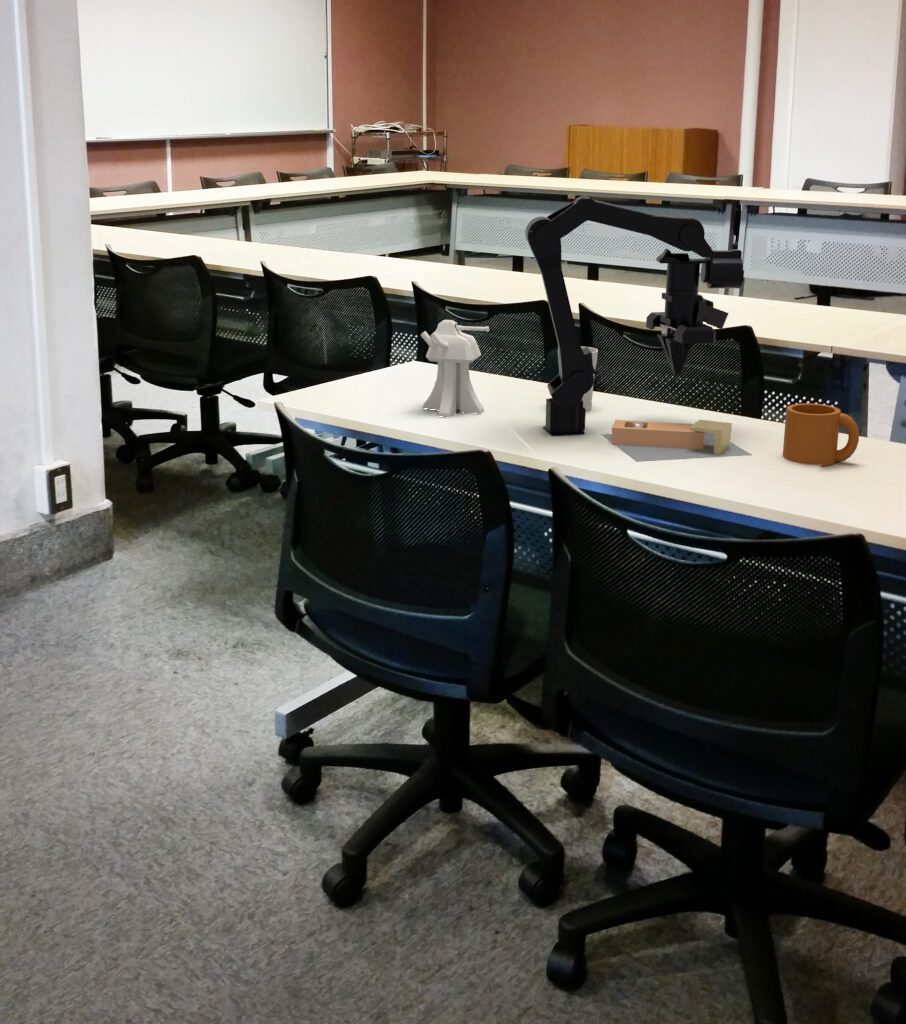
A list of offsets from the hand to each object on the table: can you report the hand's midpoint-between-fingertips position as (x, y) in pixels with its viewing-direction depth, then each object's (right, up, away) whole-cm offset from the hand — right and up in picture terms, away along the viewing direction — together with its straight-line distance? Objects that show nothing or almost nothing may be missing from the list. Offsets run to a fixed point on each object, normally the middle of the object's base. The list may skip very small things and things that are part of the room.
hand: (676, 374), depth 218 cm
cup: (-16, -5, +22) cm, 27 cm away
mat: (-2, -14, -6) cm, 15 cm away
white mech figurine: (-40, -5, +20) cm, 45 cm away
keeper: (+3, -14, -9) cm, 17 cm away
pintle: (-8, -12, -3) cm, 15 cm away
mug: (+21, -17, -15) cm, 31 cm away
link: (-4, -13, -5) cm, 14 cm away
